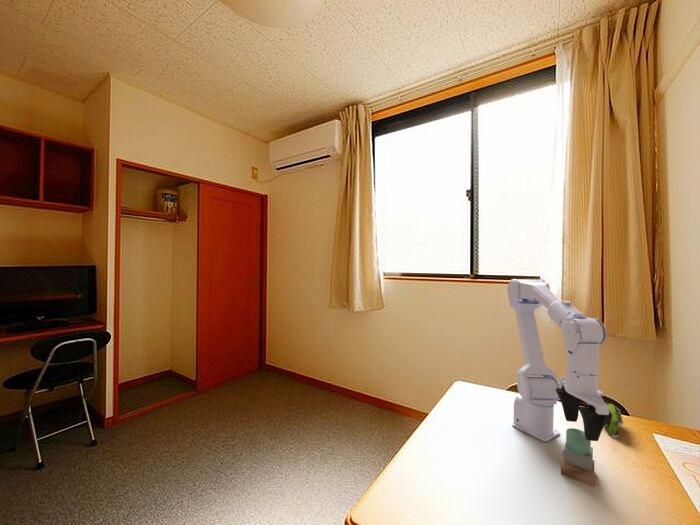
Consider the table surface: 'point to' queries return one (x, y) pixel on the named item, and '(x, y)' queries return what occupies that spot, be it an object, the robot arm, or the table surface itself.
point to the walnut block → (577, 472)
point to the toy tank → (614, 421)
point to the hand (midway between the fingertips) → (580, 429)
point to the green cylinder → (577, 442)
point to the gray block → (578, 459)
